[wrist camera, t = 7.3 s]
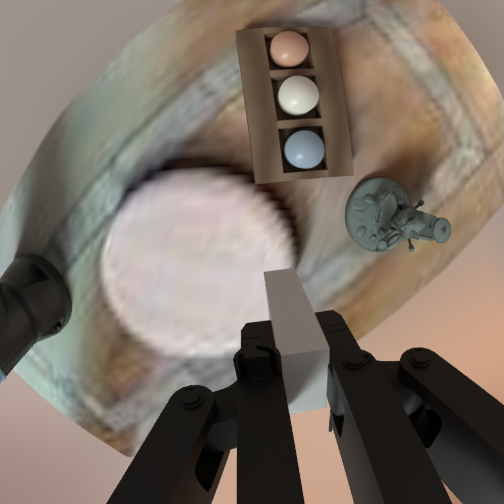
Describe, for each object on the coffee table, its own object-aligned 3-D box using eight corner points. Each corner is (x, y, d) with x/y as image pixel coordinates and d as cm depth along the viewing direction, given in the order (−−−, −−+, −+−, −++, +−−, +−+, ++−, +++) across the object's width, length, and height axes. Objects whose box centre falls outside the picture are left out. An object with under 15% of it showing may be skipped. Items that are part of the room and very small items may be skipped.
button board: (254, 182, 36) (256, 184, 33) (236, 40, 30) (235, 30, 27) (344, 174, 36) (353, 175, 33) (324, 37, 30) (330, 27, 27)
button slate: (285, 169, 34) (288, 170, 31) (280, 134, 33) (284, 131, 30) (319, 166, 34) (326, 166, 31) (315, 132, 33) (322, 129, 30)
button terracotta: (271, 70, 30) (274, 62, 27) (267, 41, 29) (269, 32, 26) (306, 68, 30) (311, 61, 27) (301, 40, 29) (305, 31, 26)
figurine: (353, 168, 36) (396, 173, 25) (415, 187, 37) (467, 200, 25) (336, 243, 39) (370, 275, 28) (399, 255, 40) (443, 286, 28)
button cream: (279, 117, 32) (282, 113, 29) (274, 83, 30) (277, 76, 27) (315, 115, 31) (321, 110, 29) (310, 82, 30) (315, 75, 27)
